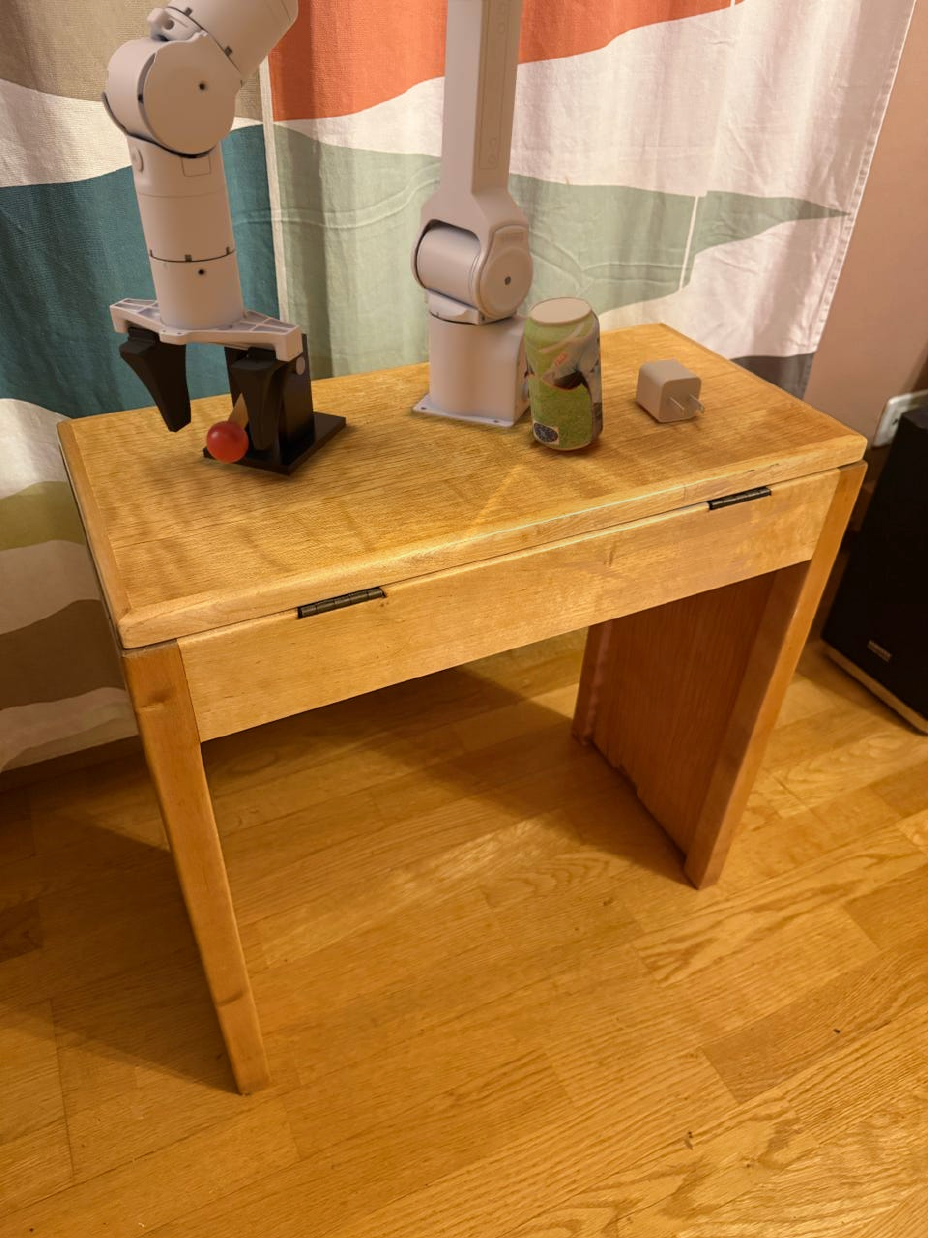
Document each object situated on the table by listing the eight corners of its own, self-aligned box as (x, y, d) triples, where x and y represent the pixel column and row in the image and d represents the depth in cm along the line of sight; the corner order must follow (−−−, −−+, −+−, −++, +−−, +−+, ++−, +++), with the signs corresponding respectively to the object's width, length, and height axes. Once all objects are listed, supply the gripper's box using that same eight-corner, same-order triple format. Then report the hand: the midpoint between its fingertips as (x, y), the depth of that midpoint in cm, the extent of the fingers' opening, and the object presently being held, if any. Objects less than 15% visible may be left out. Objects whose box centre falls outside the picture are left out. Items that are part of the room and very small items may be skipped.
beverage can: (615, 446, 79) (633, 306, 71) (547, 467, 75) (558, 322, 68) (570, 419, 83) (582, 284, 76) (503, 437, 80) (510, 299, 72)
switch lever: (244, 474, 71) (228, 450, 68) (209, 466, 72) (192, 443, 69) (298, 362, 75) (285, 335, 72) (264, 356, 76) (250, 329, 73)
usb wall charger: (672, 399, 87) (679, 358, 84) (710, 429, 82) (718, 387, 79) (634, 403, 86) (640, 362, 83) (669, 435, 80) (677, 392, 78)
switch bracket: (289, 480, 73) (277, 368, 67) (204, 461, 75) (185, 352, 70) (347, 429, 80) (339, 324, 75) (267, 414, 83) (255, 311, 77)
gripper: (64, 253, 61) (110, 440, 69) (253, 280, 56) (278, 476, 65) (131, 227, 66) (166, 404, 74) (309, 250, 62) (325, 434, 70)
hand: (222, 435), depth 70 cm, fingers open, 7 cm apart
